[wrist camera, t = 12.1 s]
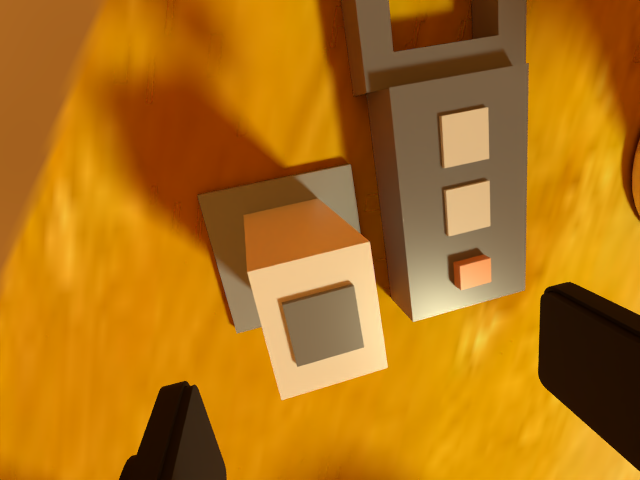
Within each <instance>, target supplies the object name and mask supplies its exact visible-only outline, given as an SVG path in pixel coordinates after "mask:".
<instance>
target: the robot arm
mask: <svg viewBox="0 0 640 480" xmlns="http://www.w3.org/2000/svg"><path fill="white" fill-rule="evenodd" d="M632 192H633V197H634V202H635V206H636V209H637V211H638V213H639V215H640V139H639V142H638V146H637V149H636V152H635V156H634V163H633V170H632ZM538 375H539V379H540V381H541V383H542V384H543V386H544V387H545V388H546V389H547V390H548V391H550V392H551V393H552V394H553V395H554V396H555V397H556V398H557V399H559V400H560V401H561V402H562V403H563V404H564V405H565V406H566V407H568V408H569V409H570V410H571V411H572V412H573V413H574V414H576V415H577V416H578V417H579V418H580V419H581V420H582V421H583V422H585V423H586V424H587V425H588V426H589V427H590V428H591V429H592V430H594V431H595V432H596V433H597V434H598V435H599V436H600V437H601V438H603V439H604V440H605V441H606V442H607V443H608V444H609V445H611V446H612V447H613V448H614V449H615V450H616V451H617V452H618V453H620V454H621V455H622V456H623V457H624V458H625V459H626V460H627V461H629V462H630V463H631V464H632V465H633V466H634V467H635V468H636V469H638V470H639V471H640V315H638V314H636V313H634V312H632V311H630V310H628V309H626V308H624V307H622V306H620V305H618V304H615V303H613V302H611V301H609V300H607V299H605V298H603V297H601V296H599V295H597V294H595V293H593V292H591V291H588V290H586V289H584V288H582V287H580V286H578V285H576V284H574V283H571V282H566V283H562V284H558V285H554V286H551V287H548V288H546V290H545V291H544V294H543V295H542V296H541V300H540V332H539V364H538ZM119 480H227V478H226V468H225V464H224V461H223V458H222V455H221V452H220V450H219V447H218V444H217V441H216V438H215V435H214V432H213V430H212V427H211V424H210V421H209V418H208V415H207V412H206V410H205V407H204V404H203V401H202V398H201V395H200V393H199V390H198V387H197V386H196V385H192V386H190V385H189V383H188V382H187V381H183V382H179V383H175V384H172V385H168V386H164V387H162V388H161V389H160V391H159V393H158V396H157V399H156V402H155V405H154V407H153V410H152V413H151V416H150V419H149V422H148V424H147V427H146V430H145V433H144V436H143V438H142V441H141V444H140V447H139V450H138V452H137V455H133V456H131V457H130V458H129V459H128V460H127V462H126V464H125V466H124V468H123V470H122V473H121V476H120V478H119Z"/></svg>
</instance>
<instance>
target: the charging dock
mask: <svg viewBox="0 0 640 480" xmlns="http://www.w3.org/2000/svg"><path fill="white" fill-rule="evenodd" d="M341 5H342V13H343V20H344V28H345V35H346V43H347V50H348V58H349V66H350V73H351V81H352V88H353V96H359V95H365V94H366V95H367V103H368V111H369V120H370V128H371V136H372V144H373V153H374V161H375V169H376V177H377V186H378V194H379V202H380V210H381V219H382V227H383V235H384V243H385V252H386V260H387V268H388V276H389V285H390V293H391V298H392V300H393V301H394V302H395V303H396V304H397V305H398V306H399V307H400V308H401V309H402V310H403V312H404V313H405V314H406V315H407V316H408V317H409V318H410V319H411V320H412V321H413V322H414V321H418V320H421V319H425V318H429V317H432V316H436V315H439V314H443V313H446V312H450V311H453V310H457V309H460V308H464V307H467V306H471V305H474V304H478V303H481V302H485V301H488V300H492V299H495V298H499V297H502V296H506V295H509V294H513V293H516V292H520V291H523V290H525V261H526V196H527V130H528V65H529V63H527V64H526V0H472V30H473V39H472V40H466V41H459V42H453V43H447V44H441V45H434V46H428V47H422V48H416V49H409V50H403V51H397V52H393V42H392V32H391V21H390V11H389V0H341Z"/></svg>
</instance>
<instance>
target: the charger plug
mask: <svg viewBox="0 0 640 480" xmlns="http://www.w3.org/2000/svg"><path fill="white" fill-rule="evenodd" d="M244 230H245V246H246V262H247V273H248V277H249V281H250V285H251V288H252V292H253V296H254V299H255V303H256V307H257V311H258V314H259V318H260V322H261V326H262V329H263V333H264V337H265V340H266V344H267V348H268V352H269V355H270V359H271V363H272V367H273V370H274V374H275V378H276V381H277V385H278V389H279V393H280V396H281V400H284V399H287V398H291V397H294V396H297V395H300V394H304V393H307V392H310V391H313V390H317V389H320V388H323V387H326V386H330V385H333V384H336V383H339V382H343V381H346V380H349V379H352V378H356V377H359V376H362V375H365V374H369V373H372V372H375V371H379V370H382V369H385V368H388V366H387V359H386V352H385V345H384V338H383V331H382V324H381V317H380V310H379V303H378V296H377V289H376V281H375V274H374V267H373V260H372V253H371V246H370V241H369V240H367V239H366V238H365V237H364V236H363V235H361V234H360V233H359V232H358V231H357V230H355V229H354V228H353V227H352V226H351V225H349V224H348V223H347V222H346V221H345V220H343V219H342V218H341V217H340V216H339V215H338V214H336V213H335V212H334V211H333V210H332V209H330V208H329V207H328V206H327V205H326V204H324V203H323V202H322V201H321V200H320V199H318V198H317V199H313V200H308V201H304V202H300V203H295V204H291V205H286V206H282V207H277V208H273V209H268V210H264V211H260V212H255V213H251V214H246V215H244Z"/></svg>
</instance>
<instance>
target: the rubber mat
mask: <svg viewBox="0 0 640 480" xmlns="http://www.w3.org/2000/svg"><path fill="white" fill-rule="evenodd" d="M197 197H198V200H199V204H200V207H201V211H202V214H203V218H204V221H205V225H206V228H207V232H208V235H209V238H210V242H211V245H212V249H213V252H214V256H215V259H216V263H217V266H218V270H219V273H220V277H221V280H222V283H223V287H224V290H225V294H226V297H227V301H228V304H229V308H230V311H231V315H232V318H233V321H234V325H235V328H236V332H237V333H240V332H244V331H248V330H251V329H255V328H259V327H262V326H261V322H260V318H259V314H258V311H257V307H256V303H255V299H254V296H253V292H252V288H251V285H250V281H249V277H248V273H247V262H246V246H245V230H244V215H246V214H251V213H255V212H260V211H264V210H268V209H273V208H277V207H282V206H286V205H291V204H295V203H300V202H304V201H308V200H313V199H317V198H318V199H320V200H321V201H322V202H323V203H324V204H326V205H327V206H328V207H329V208H330V209H332V210H333V211H334V212H335V213H336V214H338V215H339V216H340V217H341V218H342V219H343V220H345V221H346V222H347V223H348V224H349V225H351V226H352V227H353V228H354V229H355V230H357V231H358V232H359V233H360V234H361V232H360V225H359V218H358V211H357V204H356V197H355V190H354V183H353V176H352V169H351V164H344V165H339V166H334V167H329V168H325V169H320V170H315V171H310V172H305V173H300V174H296V175H291V176H286V177H281V178H276V179H271V180H266V181H262V182H257V183H252V184H247V185H242V186H237V187H232V188H228V189H223V190H218V191H213V192H208V193H203V194H199V195H198V196H197Z"/></svg>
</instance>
